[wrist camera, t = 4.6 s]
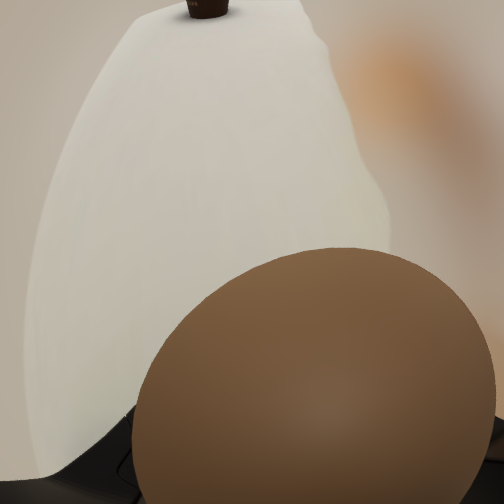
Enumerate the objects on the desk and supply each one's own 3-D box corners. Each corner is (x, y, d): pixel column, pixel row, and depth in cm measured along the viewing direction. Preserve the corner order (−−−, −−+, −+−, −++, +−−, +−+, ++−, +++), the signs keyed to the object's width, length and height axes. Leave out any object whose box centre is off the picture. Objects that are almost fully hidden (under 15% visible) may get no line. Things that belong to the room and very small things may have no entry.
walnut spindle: (313, 412, 13) (496, 492, 2) (234, 429, 13) (196, 601, 1) (296, 338, 15) (449, 222, 3) (217, 354, 15) (104, 287, 3)
